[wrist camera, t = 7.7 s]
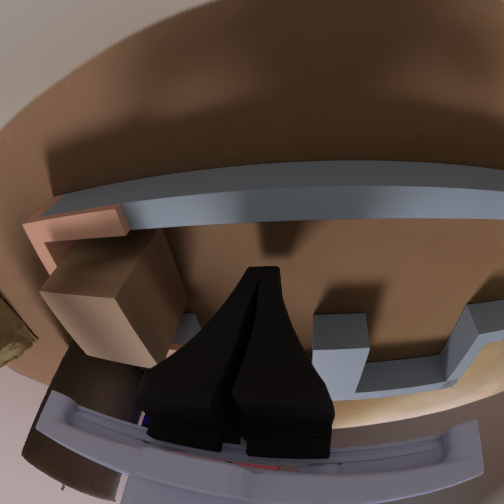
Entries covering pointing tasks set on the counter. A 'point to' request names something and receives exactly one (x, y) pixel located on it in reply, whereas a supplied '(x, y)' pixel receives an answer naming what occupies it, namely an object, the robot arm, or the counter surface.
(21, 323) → the rock
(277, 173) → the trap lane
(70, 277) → the walnut block
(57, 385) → the pillar candle
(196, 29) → the counter surface
